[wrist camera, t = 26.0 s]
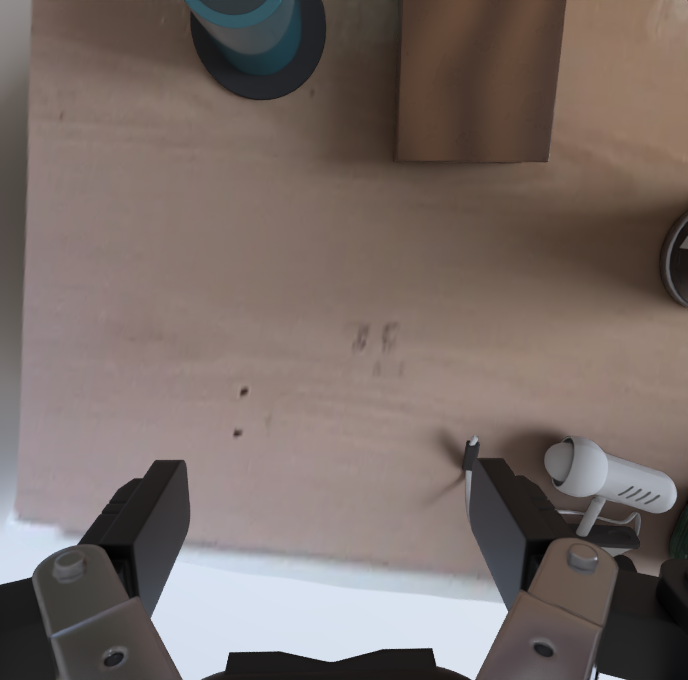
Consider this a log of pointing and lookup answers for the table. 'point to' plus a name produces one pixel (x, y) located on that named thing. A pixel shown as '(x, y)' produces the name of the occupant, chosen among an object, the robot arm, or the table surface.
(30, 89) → the table surface
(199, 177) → the table surface
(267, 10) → the tumbler
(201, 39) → the coaster
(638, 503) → the clip-on lamp
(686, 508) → the coffee jar
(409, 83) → the riser
